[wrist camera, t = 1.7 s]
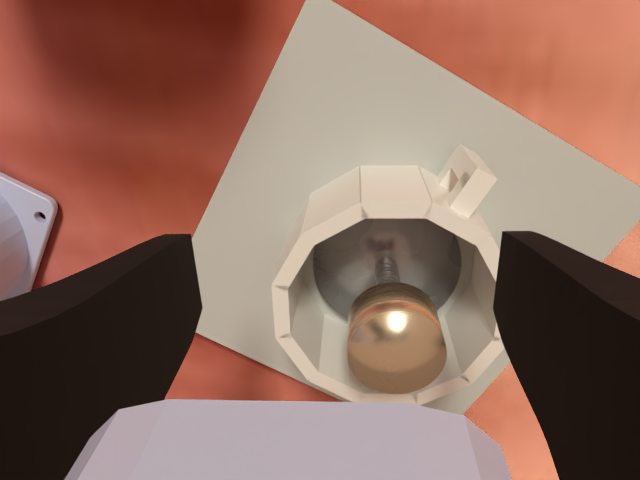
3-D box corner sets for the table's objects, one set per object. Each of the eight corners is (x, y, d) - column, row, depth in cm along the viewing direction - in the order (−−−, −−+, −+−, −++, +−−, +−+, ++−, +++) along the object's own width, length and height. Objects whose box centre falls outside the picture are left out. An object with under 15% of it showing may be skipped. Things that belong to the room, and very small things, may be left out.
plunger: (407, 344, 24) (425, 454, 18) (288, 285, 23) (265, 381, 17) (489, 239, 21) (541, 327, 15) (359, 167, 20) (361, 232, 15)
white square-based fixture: (433, 432, 27) (448, 517, 23) (162, 305, 25) (119, 371, 20) (648, 191, 21) (729, 243, 17) (313, -11, 19) (299, -17, 14)
